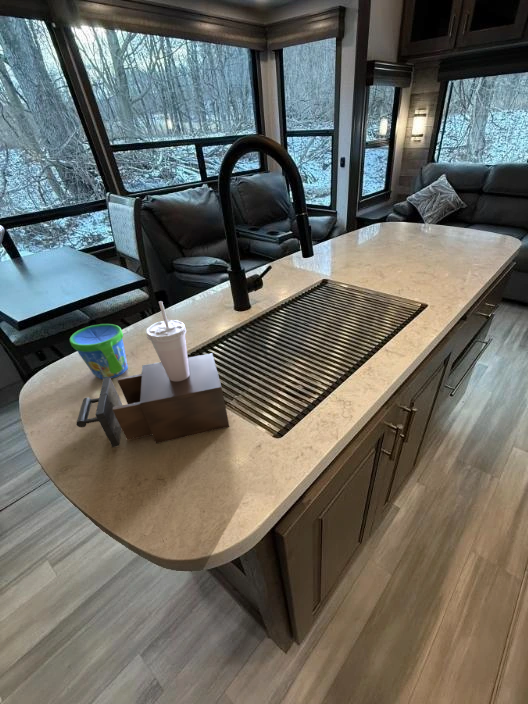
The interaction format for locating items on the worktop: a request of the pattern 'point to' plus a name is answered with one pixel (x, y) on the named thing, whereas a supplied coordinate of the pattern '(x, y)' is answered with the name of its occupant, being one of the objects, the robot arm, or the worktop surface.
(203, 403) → the cabinet
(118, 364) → the snack cup
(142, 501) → the worktop surface
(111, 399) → the drawer
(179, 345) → the smoothie
